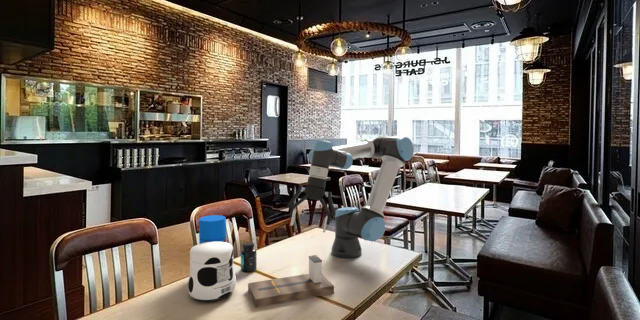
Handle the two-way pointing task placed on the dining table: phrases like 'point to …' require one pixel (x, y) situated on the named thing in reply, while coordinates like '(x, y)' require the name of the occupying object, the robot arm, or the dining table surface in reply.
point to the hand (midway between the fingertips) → (307, 228)
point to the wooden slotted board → (287, 289)
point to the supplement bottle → (248, 258)
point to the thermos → (212, 229)
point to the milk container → (211, 271)
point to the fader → (315, 268)
